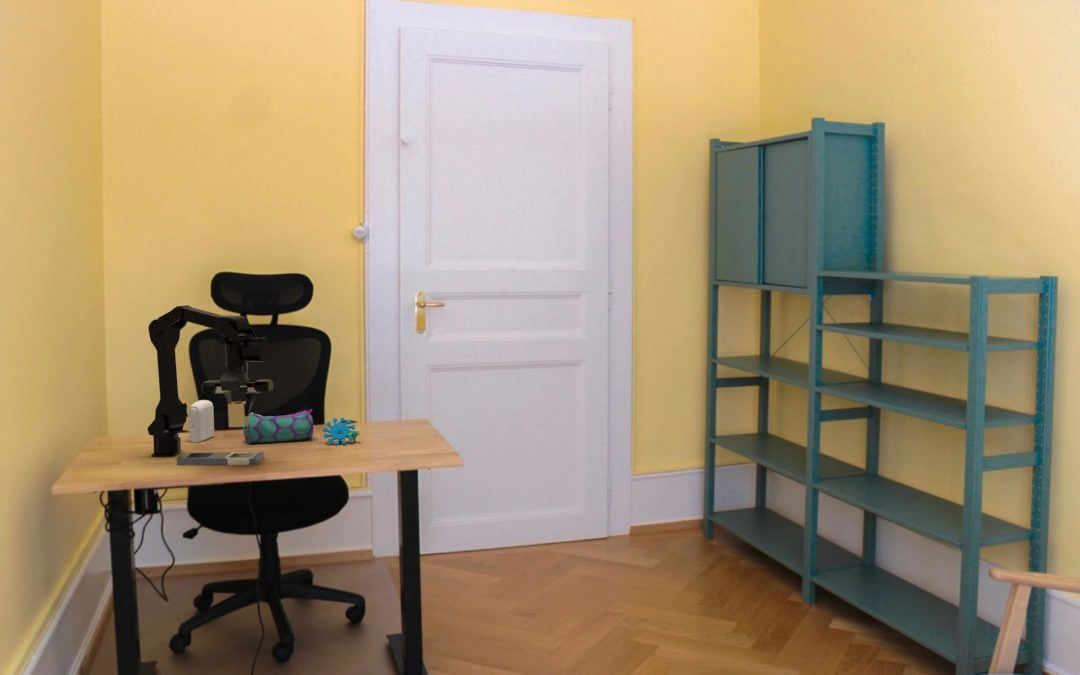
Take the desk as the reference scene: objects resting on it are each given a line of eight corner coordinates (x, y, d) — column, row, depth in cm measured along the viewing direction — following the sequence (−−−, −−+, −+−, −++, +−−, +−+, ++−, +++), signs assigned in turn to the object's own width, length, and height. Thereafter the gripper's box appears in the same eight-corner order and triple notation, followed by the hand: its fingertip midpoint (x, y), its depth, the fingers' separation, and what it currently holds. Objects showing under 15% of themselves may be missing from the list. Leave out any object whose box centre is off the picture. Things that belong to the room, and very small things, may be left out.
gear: (319, 440, 292) (326, 414, 298) (320, 451, 296) (327, 424, 303) (355, 445, 292) (362, 418, 299) (356, 456, 297) (362, 429, 303)
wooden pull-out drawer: (228, 427, 267) (227, 403, 266) (233, 424, 271) (232, 400, 271) (244, 426, 267) (243, 402, 266) (249, 424, 271) (248, 400, 271)
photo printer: (200, 442, 297) (199, 403, 296) (187, 442, 297) (186, 403, 296) (216, 436, 307) (215, 398, 306) (203, 436, 307) (202, 397, 306)
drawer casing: (176, 464, 266) (176, 457, 266) (187, 458, 274) (186, 451, 274) (256, 464, 267) (256, 457, 266) (264, 458, 275) (264, 451, 274)
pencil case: (245, 446, 292) (244, 415, 291) (243, 441, 300) (242, 410, 299) (314, 441, 299) (314, 411, 298) (311, 436, 307) (310, 407, 306)
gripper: (192, 365, 260) (195, 422, 261) (261, 363, 260) (264, 420, 261) (206, 360, 271) (209, 415, 272) (272, 359, 271) (275, 414, 272)
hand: (238, 416), depth 269 cm, fingers closed on wooden pull-out drawer, 4 cm apart
